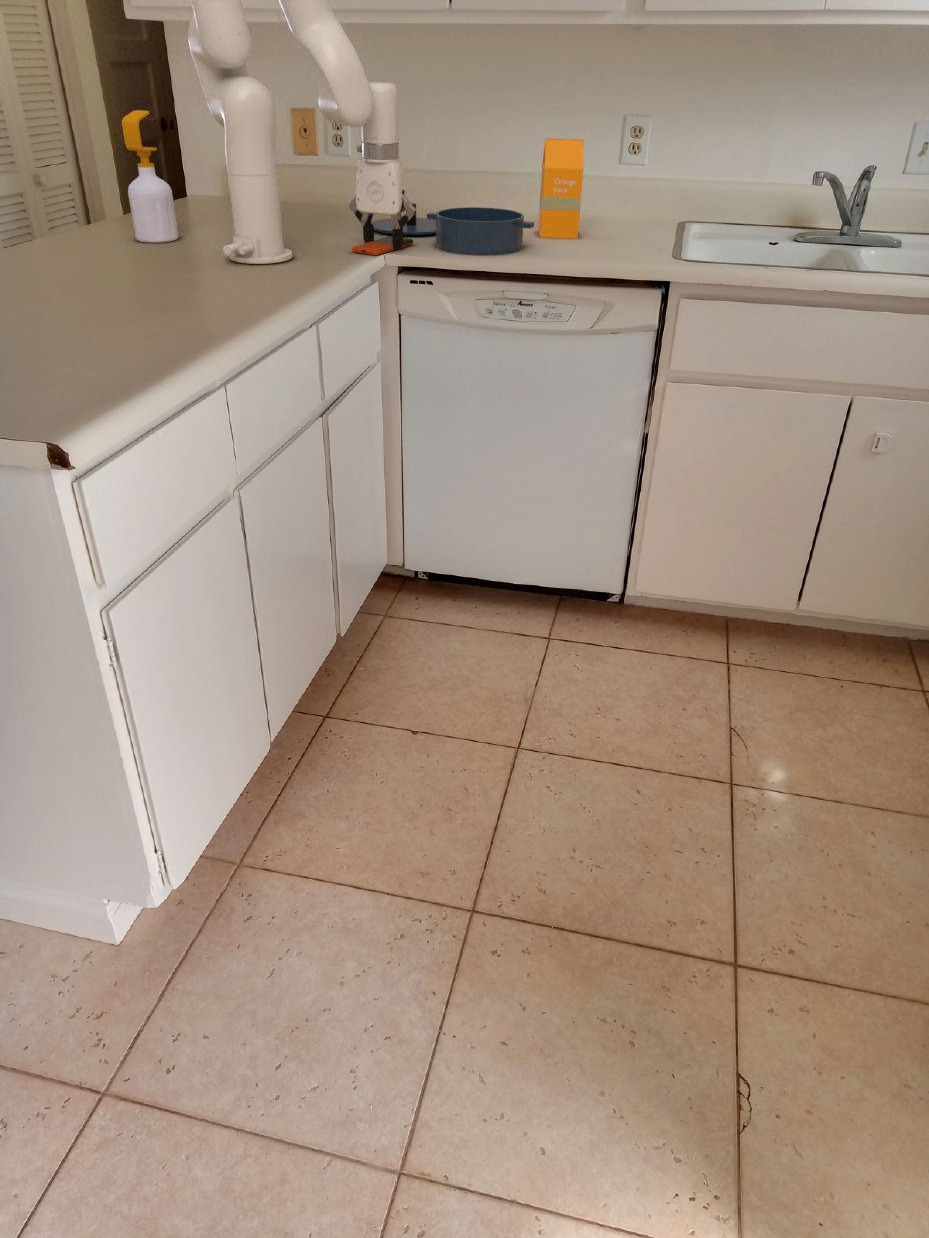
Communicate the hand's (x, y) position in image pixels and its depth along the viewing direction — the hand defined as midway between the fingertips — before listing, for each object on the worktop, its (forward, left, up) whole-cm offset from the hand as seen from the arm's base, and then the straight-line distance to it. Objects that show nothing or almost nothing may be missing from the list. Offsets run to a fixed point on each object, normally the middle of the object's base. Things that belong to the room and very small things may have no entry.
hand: (383, 246), depth 191 cm
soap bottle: (-15, +48, -1) cm, 50 cm away
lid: (+24, +5, 0) cm, 25 cm away
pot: (+13, -17, -1) cm, 21 cm away
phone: (0, 0, -1) cm, 1 cm away
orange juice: (+35, -28, -1) cm, 45 cm away
